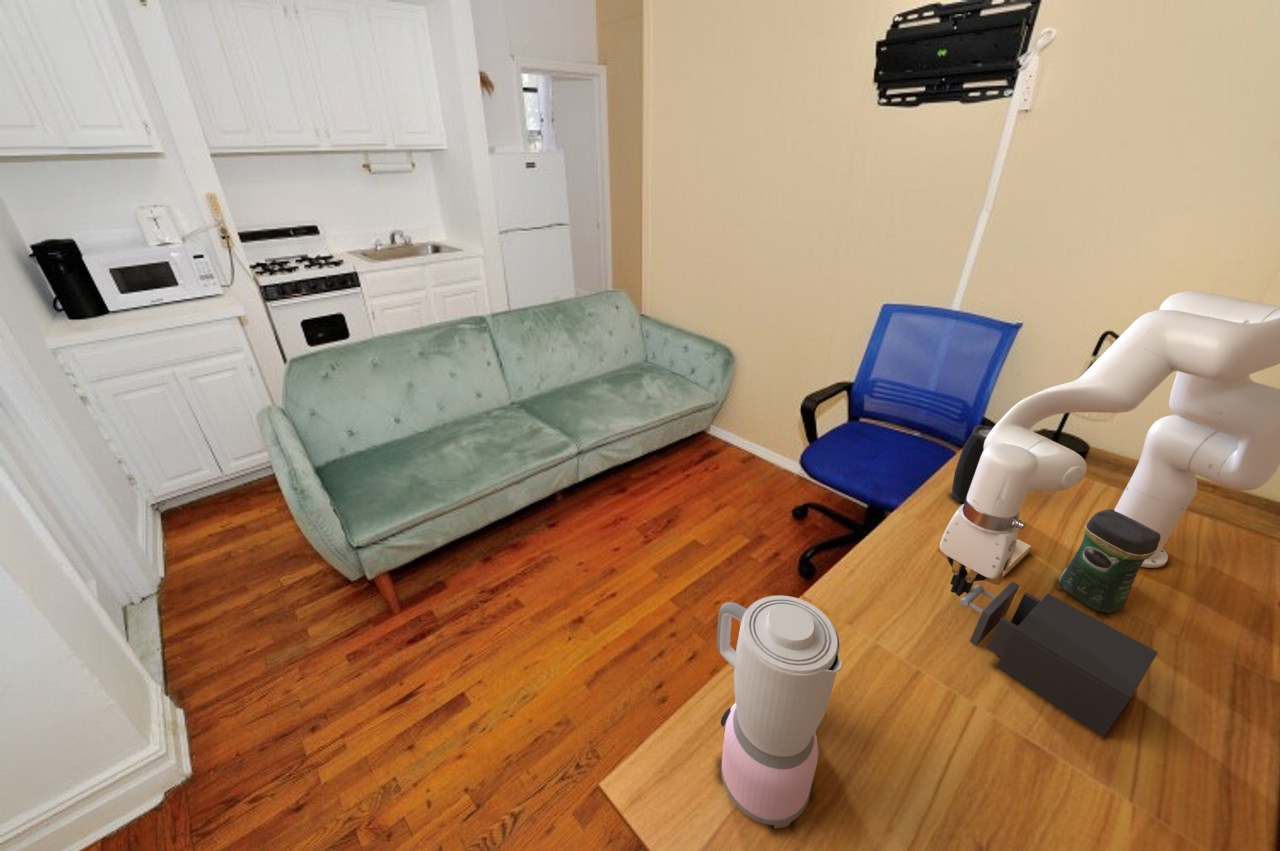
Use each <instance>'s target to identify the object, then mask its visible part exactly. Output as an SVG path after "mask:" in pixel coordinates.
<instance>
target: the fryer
mask: <svg viewBox="0 0 1280 851" xmlns="http://www.w3.org/2000/svg"><path fill="white" fill-rule="evenodd" d="M1040 600H1041V601H1040V602H1039V603H1038V604H1037V606H1036V607H1035V608H1034V609H1033V610H1032V611H1031V612H1030V613H1029V614H1028V615H1027V617H1026V618H1025V619H1024V620H1023V621H1022V622H1021V623H1020V624H1019V625H1018V627H1017V628H1016V629H1015V631H1014V633H1013V635H1012V637H1011V639H1010V641H1009V644H1008V646H1007V648H1006V650H1005V652H1004V654H1003V656H1002V658H1001V657H1000V660H999V662H998V664H997V668H998V669H999V670H1001V671H1002V672H1004V673H1005V674H1007V675H1009V676H1010V677H1011V678H1013V679H1014V680H1016V681H1018V682H1019V683H1020V684H1022V685H1024V686H1025V687H1026V688H1028V689H1029V690H1031V691H1032V692H1034V693H1036V694H1037V695H1038V696H1039V697H1041V698H1044V699H1045V701H1047V702H1048V703H1051V704H1052V705H1053V706H1055V707H1056V708H1058V709H1059V710H1061V711H1062V712H1064V713H1066V714H1067V715H1069V716H1070V717H1072V718H1073V719H1075V720H1076V721H1078V722H1079V723H1081V724H1082V725H1084V726H1085V727H1086V728H1088V729H1090V730H1091V731H1093V732H1094V733H1096V734H1098V736H1100V737H1102V738H1104V737H1105V736H1106V734H1107V733H1108V732H1109V730H1110V729H1111V728H1112V726H1113V724H1114V723H1115V722H1116V720H1117V719H1118V717H1119V716H1120V714H1121V713H1122V712H1123V710H1124V709H1125V708H1126V706H1127V704H1128V703H1129V702H1130V700H1131V699H1132V698H1133V696H1134V694H1135V693H1136V691H1137V689H1138V688H1139V686H1140V684H1141V682H1142V680H1143V678H1145V675H1146V674H1147V672H1148V670H1149V669H1150V667H1151V665H1152V663H1153V662H1154V661H1155V658H1156V656H1157V655H1158V653H1159V651H1158V650H1155V649H1154V648H1151V647H1150V646H1148V645H1146V644H1144V643H1142V642H1140V641H1138V640H1136V639H1134V638H1133V637H1131V636H1129V635H1127V634H1126V633H1123V632H1122V631H1119V630H1118V629H1116V628H1114V627H1112V626H1110V625H1108V624H1107V623H1105V622H1102V621H1100V620H1098V619H1097V618H1095V617H1093V616H1091V615H1090V614H1088V613H1085V612H1083V611H1082V610H1080V609H1079V608H1076V607H1074V606H1072V605H1071V604H1068V603H1067V602H1065V601H1062V600H1061V599H1060V598H1057V597H1055V596H1053V595H1052V594H1049V593H1047V594H1045V595H1044V596H1043V598H1042V599H1040Z"/></svg>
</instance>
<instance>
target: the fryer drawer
mask: <svg viewBox="0 0 1280 851" xmlns="http://www.w3.org/2000/svg"><path fill="white" fill-rule="evenodd" d="M1019 588H1020V585H1019V584H1018V583H1016V582H1014V581H1011V582H1010V583H1009V584H1008V585H1007V586H1006V587H1005V588H1004V589H1003V590H1002V591H1001V592H1000V593H999V594H998V595H997V596H996V595H994V594H992V593H991V592H989V591H987V590H986V589H985V588H984V587H983V585H981V584H976V585H975V586H974V587H972V588H971V590H970V591H969V592H968V593H965V595H964V596H963V597H962V598H961V599H960V600H959V603H960V604H961V605H962V606H964V607H970V608H971V609H973V610H975V611H976V612H978V613H980V616H979V618H978V620H977V623H976V625H975V627H974V630H973V632H972V634H971V638H970V640H969V643H971V644H972V645H974V646H976V647H977V646H979V645H980V643H981V642H982V641H984V639H985V638H986V637H987V636H988V635H989V634H990V633H991V632H992V631H993V630H994V628H995V630H994V632H993V634H992V636H991V638H990V641H989V642H988V645H987V650H989V651H990V652H992V653H994V654H995V655H997V656H998V657H1000V659H1001V658H1002V656H1003V654H1004V652H1005V650H1006V648H1007V646H1008V644H1009V641H1010V639H1011V637H1012V635H1013V633H1014V631H1015V629H1016V628H1017V627H1018V625H1019V624H1020V623H1021V622H1022V621H1023V620H1024V619H1025V618H1026V617H1027V615H1028V614H1029V613H1030V612H1031V611H1032V610H1033V609H1034V608H1035V607H1036V606H1037V604H1038V603H1039V602H1040V601H1041V600H1042V599H1039V598H1037V597H1036V596H1033V595H1031V594H1030V593H1028V592H1025V593H1024V594H1023V596H1022V597H1021V599H1020V602H1019V604H1018V606H1017V607H1016V610H1015V613H1014V614H1013V616H1012V619H1011V620H1008V619H1007V618H1005V617H1006V616H1007V614H1008V612H1009V610H1010V607H1011V605H1012V603H1013V601H1014V598H1015V596H1016V594H1017V592H1018V590H1019ZM981 594H982V595H984V596H985V597H987V598H989V599H990V600H992V601H991V602H989V604H988V605H987V606H985V608H984V609H983V608H982V607H980V606H978V605H977V604H975V603H973V601H974V600H976V599H977V598H978V597H979V596H980V595H981Z"/></svg>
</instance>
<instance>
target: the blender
mask: <svg viewBox="0 0 1280 851" xmlns="http://www.w3.org/2000/svg"><path fill="white" fill-rule="evenodd" d="M718 611H719V613H718V618H717V632H716V633H717V634H716V645H717V646H716V647H717V650H718V652H719V654H720V655H721V657H722V658H723V659H724V660H725V661H726V662H728V664H730V665H731V666H732V667H733V692H734V700H735V703H734V704H733V705H732V706H731V707H728V708H727V709H726V710H725V711H724V713H723V714H722V716H721V719H720V725H721V726H722V727H723V732H724V735H723V744H722V757H721V765H720V766H721V767H720V771H721V779H722V783H723V786H724V789H725V791H726V793H727V795H728V797H729V798H730V800H731V802H732V803H733V804H734V805H735V806H736V808H737V809H738V810H739V811H740V812H741V813H742V814H744V815H745V816H747V817H748V818H750V819H752V820H753V821H756V822H758V823H760V824H764V825H768V826H773V827H774V829H782V828H786V827H789V826H790V825H791V823H792V822H793V821H795V820H796V819H798V818H799V817H800V816H801V814H803V812H804V811H805V809H806V807H807V805H808V803H809V800H810V798H811V797H810V796H811V792H812V785H813V781H814V778H815V773H816V770H817V765H818V760H819V742H818V737H817V733H816V732H817V729H818V728H819V726H820V724H821V723H822V720H823V719H824V716H825V714H826V712H827V709H828V707H829V705H830V704H829V703H830V700H831V696H832V691H833V687H834V684H835V680H836V675H837V672H839V671H842V667H843V663H842V661H841V659H840V650H841V649H840V648H841V641H840V636H839V634H838V631H837V629H836V627H835V625H834V623H833V622H832V621H831V620H830V618H829V617H828V616H827V615H826V613H824V612H823V611H821V610H820V609H819V608H818V607H816V606H815V605H813V604H812V603H810V602H808V601H806V600H803V599H801V598H798V597H794V596H790V595H780V594H779V595H770V596H765V597H762V598H759V599H758V600H755V601H754V602H753V603H751V604H749V607H747V608H746V607H744V606H742V605H741V604H739V603H737V602H734V601H729V602H724V603H723V604H722V605H721V606H720V608H719V610H718ZM733 618H734V619H735V620H737V621H738V622H740V627H739V632H738V637H737V642H736V648H735V649H734V648H733V647H732V646H731V631H732V623H733V622H732V621H733Z"/></svg>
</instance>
